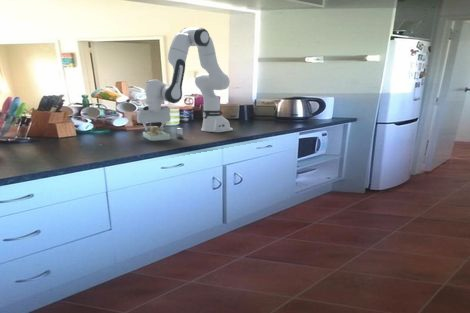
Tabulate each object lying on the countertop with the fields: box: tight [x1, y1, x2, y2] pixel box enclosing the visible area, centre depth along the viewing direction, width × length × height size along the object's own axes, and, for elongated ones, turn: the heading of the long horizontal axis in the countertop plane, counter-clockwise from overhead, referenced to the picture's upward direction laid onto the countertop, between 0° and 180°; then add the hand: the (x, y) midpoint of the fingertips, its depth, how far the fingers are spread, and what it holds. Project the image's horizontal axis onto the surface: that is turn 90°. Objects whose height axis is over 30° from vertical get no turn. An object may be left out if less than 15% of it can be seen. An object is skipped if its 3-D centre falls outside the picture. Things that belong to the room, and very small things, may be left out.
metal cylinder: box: [175, 127, 184, 140], centre depth 222 cm, size 4×4×6 cm
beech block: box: [149, 126, 159, 136], centre depth 222 cm, size 4×4×6 cm
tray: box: [142, 131, 171, 142], centre depth 219 cm, size 12×14×3 cm
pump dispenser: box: [149, 122, 167, 132], centre depth 240 cm, size 10×10×15 cm
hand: (154, 129), depth 221 cm, fingers open, 8 cm apart
